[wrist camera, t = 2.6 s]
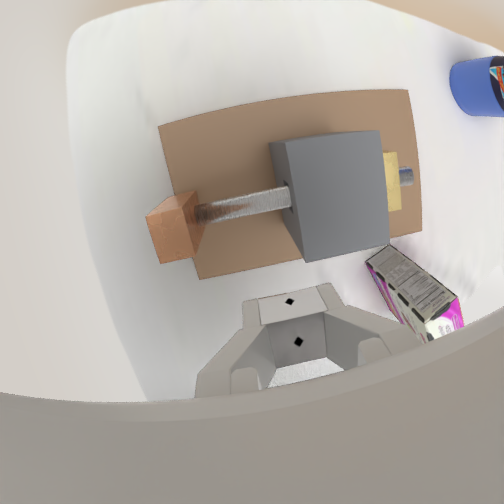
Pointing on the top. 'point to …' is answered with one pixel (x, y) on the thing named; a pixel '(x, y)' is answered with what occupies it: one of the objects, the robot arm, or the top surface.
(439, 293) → the candy bar box
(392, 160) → the spacer
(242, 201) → the shaft
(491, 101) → the water bottle
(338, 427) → the robot arm
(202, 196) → the bearing stand
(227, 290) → the top surface
